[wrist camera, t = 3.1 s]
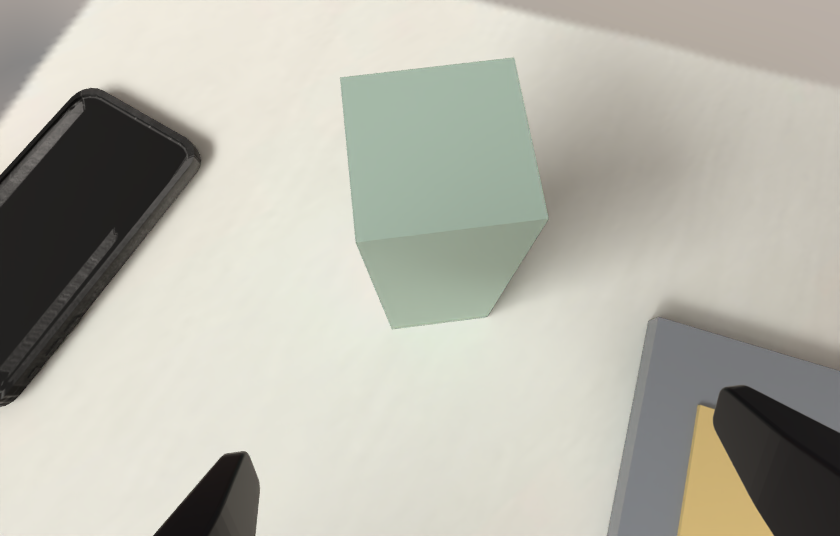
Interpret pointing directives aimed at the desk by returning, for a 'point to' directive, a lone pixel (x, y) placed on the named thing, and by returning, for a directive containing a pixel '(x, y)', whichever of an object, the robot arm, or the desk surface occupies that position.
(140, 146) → the phone
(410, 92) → the sage block
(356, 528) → the desk surface
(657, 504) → the pad
